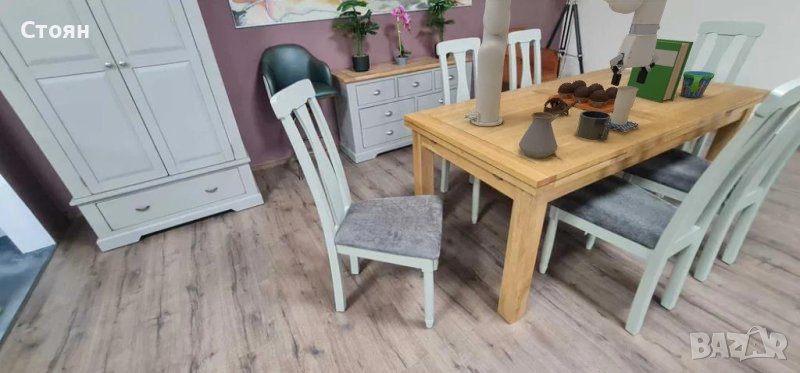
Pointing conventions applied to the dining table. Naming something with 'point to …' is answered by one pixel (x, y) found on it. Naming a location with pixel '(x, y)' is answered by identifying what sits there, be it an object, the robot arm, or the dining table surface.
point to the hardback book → (663, 71)
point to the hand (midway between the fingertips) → (627, 84)
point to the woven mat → (623, 126)
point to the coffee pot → (541, 135)
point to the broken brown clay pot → (555, 105)
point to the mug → (593, 125)
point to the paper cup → (623, 104)
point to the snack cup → (695, 83)
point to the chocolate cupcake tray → (588, 96)
